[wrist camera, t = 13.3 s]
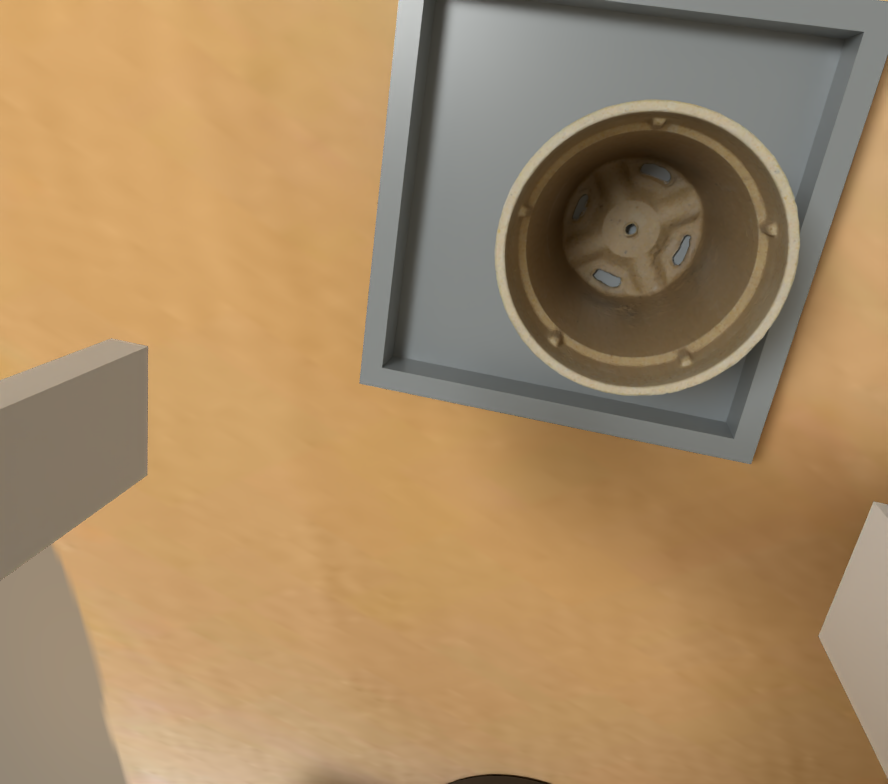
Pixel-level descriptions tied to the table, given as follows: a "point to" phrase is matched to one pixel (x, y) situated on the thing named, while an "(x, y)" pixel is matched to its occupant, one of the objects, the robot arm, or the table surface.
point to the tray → (517, 140)
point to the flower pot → (647, 247)
